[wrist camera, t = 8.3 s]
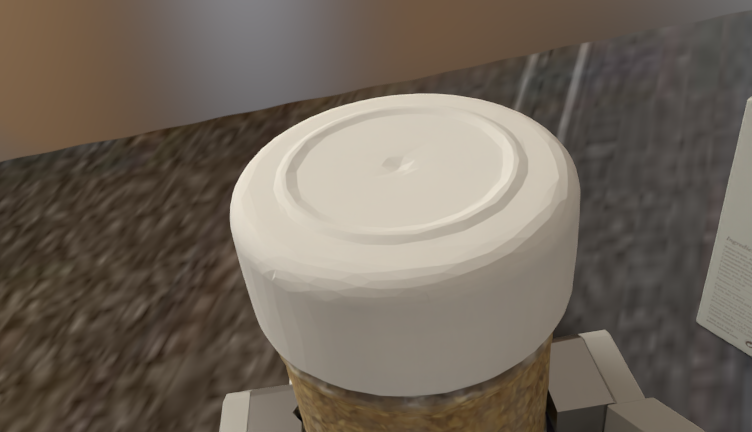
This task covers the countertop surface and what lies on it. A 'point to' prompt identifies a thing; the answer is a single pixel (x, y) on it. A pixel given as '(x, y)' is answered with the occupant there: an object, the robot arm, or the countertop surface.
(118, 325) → the countertop surface
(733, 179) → the small box
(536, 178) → the sprinkles bottle
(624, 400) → the robot arm
